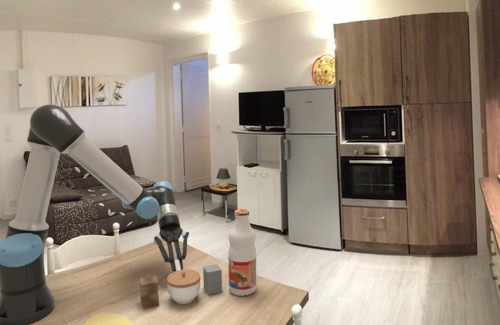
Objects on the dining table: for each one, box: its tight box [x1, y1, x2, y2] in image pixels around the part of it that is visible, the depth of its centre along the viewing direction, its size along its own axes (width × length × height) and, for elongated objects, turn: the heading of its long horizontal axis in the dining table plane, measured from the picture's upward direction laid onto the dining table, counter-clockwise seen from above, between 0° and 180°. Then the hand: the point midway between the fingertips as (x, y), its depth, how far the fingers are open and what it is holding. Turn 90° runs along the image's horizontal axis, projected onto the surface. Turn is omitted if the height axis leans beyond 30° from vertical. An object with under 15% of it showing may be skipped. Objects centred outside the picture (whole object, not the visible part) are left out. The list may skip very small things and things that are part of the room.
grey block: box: [202, 263, 223, 296], centre depth 121 cm, size 5×5×8 cm
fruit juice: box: [227, 208, 257, 297], centre depth 119 cm, size 9×9×28 cm
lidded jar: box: [166, 269, 201, 305], centre depth 115 cm, size 11×11×9 cm
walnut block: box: [139, 274, 160, 310], centre depth 113 cm, size 5×5×8 cm
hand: (179, 279), depth 121 cm, fingers closed
